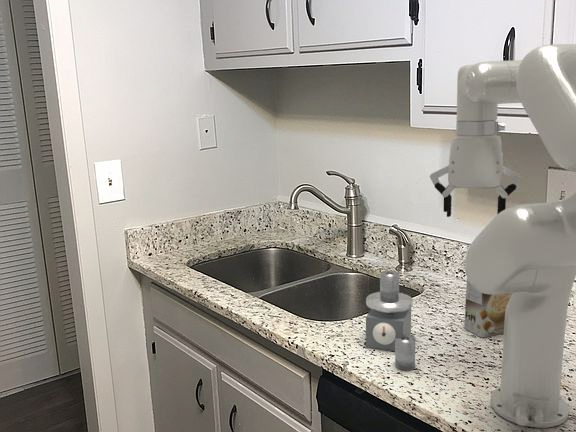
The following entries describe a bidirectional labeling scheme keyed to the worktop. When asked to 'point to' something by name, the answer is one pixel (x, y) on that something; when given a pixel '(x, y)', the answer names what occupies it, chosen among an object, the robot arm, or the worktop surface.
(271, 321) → the worktop surface
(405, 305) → the pan
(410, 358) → the cylinder
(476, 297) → the printed food package
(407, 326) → the scale
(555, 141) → the robot arm
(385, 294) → the cylinder
